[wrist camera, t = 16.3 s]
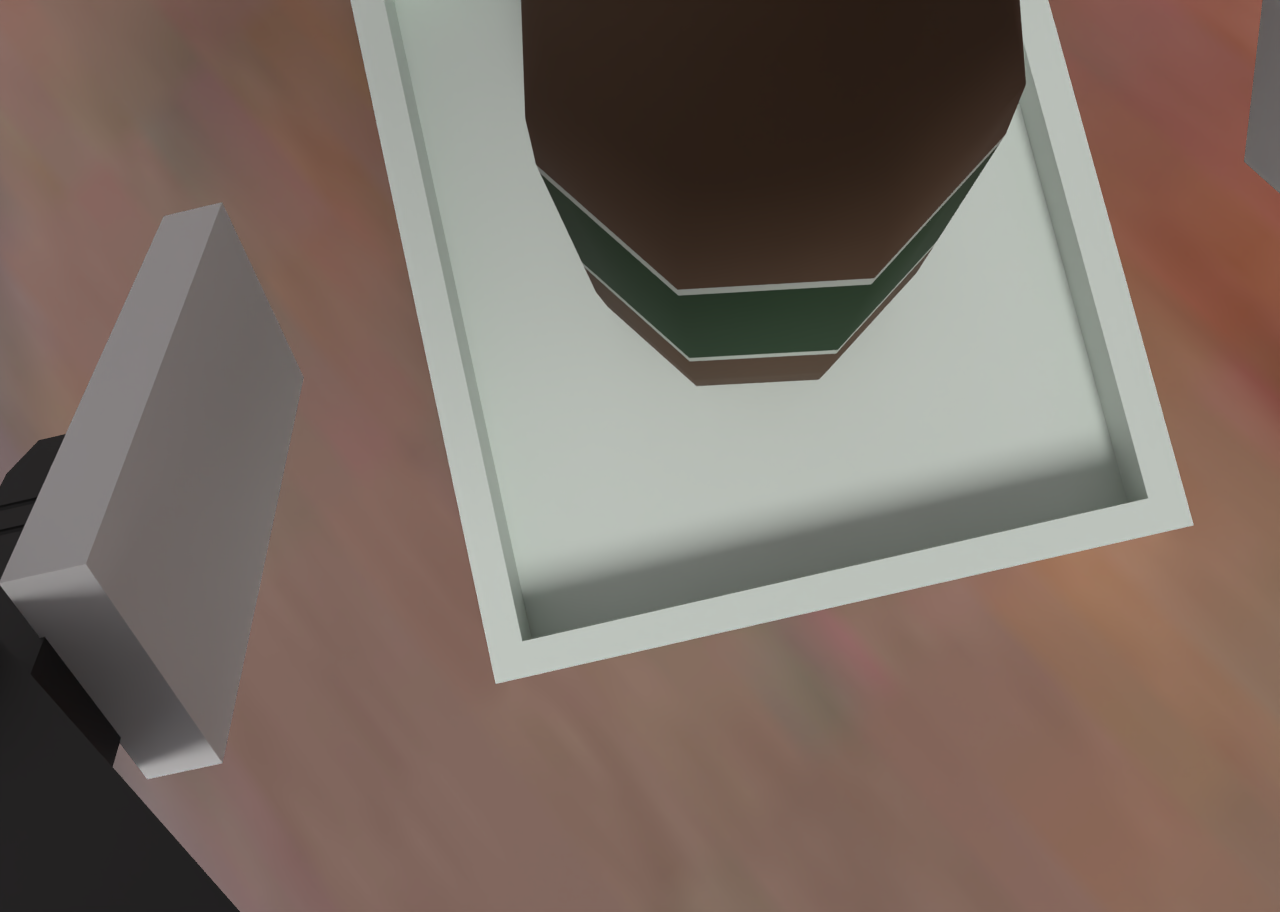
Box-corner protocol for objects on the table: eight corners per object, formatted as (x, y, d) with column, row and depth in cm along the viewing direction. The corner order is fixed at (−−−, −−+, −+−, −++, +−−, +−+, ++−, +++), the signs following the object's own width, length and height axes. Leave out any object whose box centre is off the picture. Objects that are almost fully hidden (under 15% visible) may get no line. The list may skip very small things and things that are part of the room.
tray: (972, -165, 31) (988, -216, 29) (1161, 528, 29) (1193, 525, 27) (364, -10, 32) (340, -48, 30) (511, 676, 30) (496, 683, 28)
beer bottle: (824, 36, 30) (1191, -1948, 6) (967, 316, 29) (2009, -778, 6) (539, 172, 30) (-136, -1263, 7) (672, 455, 30) (450, -21, 6)
